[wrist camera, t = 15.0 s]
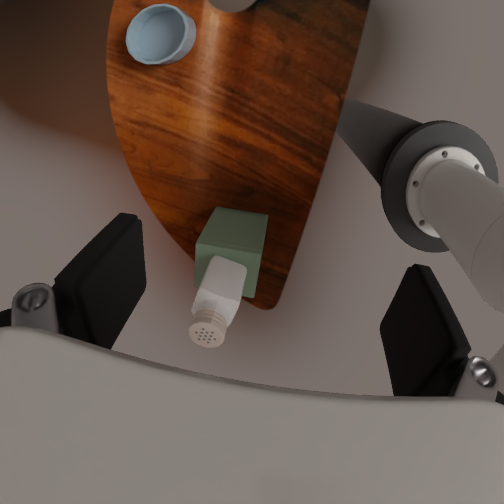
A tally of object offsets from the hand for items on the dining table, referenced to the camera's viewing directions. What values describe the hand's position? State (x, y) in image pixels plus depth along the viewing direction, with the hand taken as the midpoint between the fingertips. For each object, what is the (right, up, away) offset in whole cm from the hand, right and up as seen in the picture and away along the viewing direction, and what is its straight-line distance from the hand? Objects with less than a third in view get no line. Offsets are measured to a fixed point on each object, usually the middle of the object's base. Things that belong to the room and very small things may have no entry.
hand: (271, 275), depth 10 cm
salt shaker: (-3, -1, +23) cm, 24 cm away
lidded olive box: (-2, +4, +32) cm, 32 cm away
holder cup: (-11, +27, +19) cm, 34 cm away
